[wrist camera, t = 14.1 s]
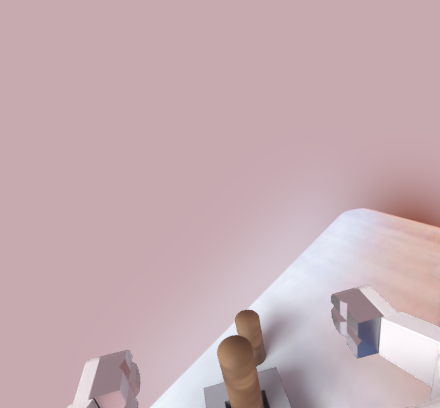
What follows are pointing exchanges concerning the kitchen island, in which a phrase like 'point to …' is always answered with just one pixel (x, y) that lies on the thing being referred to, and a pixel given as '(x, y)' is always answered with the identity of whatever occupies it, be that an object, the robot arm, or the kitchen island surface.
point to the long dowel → (240, 372)
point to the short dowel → (251, 333)
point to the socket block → (269, 386)
